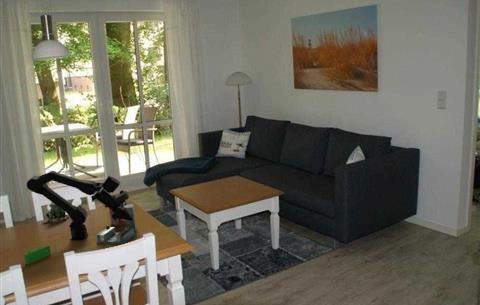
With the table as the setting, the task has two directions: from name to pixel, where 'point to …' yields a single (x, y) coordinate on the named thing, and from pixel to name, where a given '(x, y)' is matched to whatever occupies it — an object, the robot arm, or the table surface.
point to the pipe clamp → (37, 254)
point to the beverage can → (117, 221)
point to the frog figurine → (55, 213)
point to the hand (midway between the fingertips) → (132, 218)
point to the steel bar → (130, 211)
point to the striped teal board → (115, 235)
